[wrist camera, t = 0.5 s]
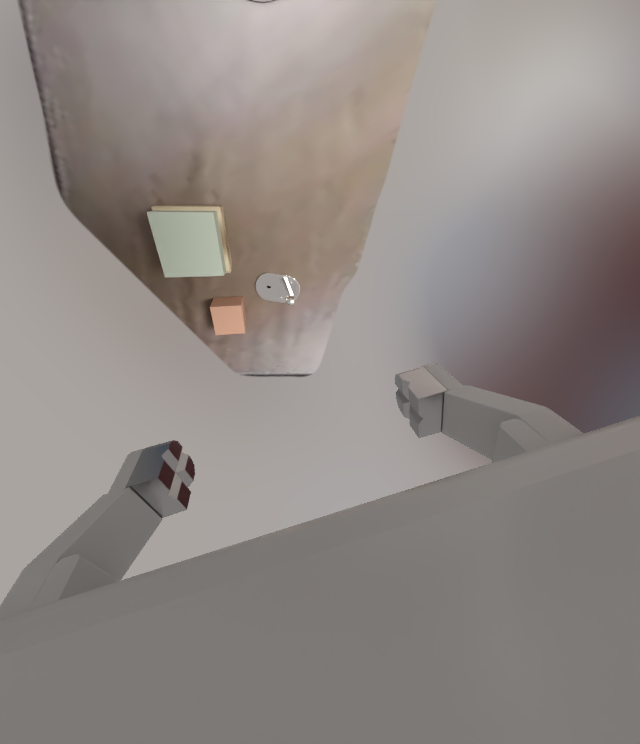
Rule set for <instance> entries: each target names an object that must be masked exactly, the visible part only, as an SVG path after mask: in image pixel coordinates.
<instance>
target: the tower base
mask: <svg viewBox="0 0 640 744" xmlns="http://www.w3.org/2000/svg"><path fill="white" fill-rule="evenodd" d="M151 208H152V211H155V210H165V211H217V215H218V221H219V227H220V233H221V240H222V246H223V252H224V258H225V264H226V272H225V273H231V270H232V263H231V256H230V250H229V244H228V237H227V231H226V225H225V218H224V212H223V206H151Z"/></svg>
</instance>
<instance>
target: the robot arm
mask: <svg viewBox="0 0 640 744" xmlns="http://www.w3.org/2000/svg"><path fill="white" fill-rule="evenodd" d="M254 1H261V2H265V1H272V0H254ZM395 384H396V385H397V387H398V388H399V389H398V391H397V392H396V399H397V403H398V406H399V409H400V411H401V412H402V414H403V415H404V417H406V418H409V419H410V426H411V427H412V429H413V430H414V432H415V433H416V434H417V436H418V437H419V438H421V437H424V436H428V435H432V434H435V433H439V432H442V433H443V434H445V435H447V436H449V437H451V438H453V439H454V440H456V441H458V442H460V443H462V444H464V445H466V446H467V447H469V448H471V449H473V450H475V451H477V452H478V453H480V454H482V455H484V456H486V457H488V458H490V459H491V460H492V463H491V464H488V465H484V466H481V467H478V468H475V469H471V470H468V471H465V472H462V473H459V474H456V475H453V476H449V477H446V478H443V479H440V480H437V481H434V482H430V483H427V484H424V485H421V486H418V487H415V488H412V489H408V490H405V491H402V492H399V493H396V494H393V495H389V496H386V497H383V498H380V499H377V500H374V501H371V502H367V503H364V504H361V505H358V506H355V507H352V508H349V509H345V510H342V511H339V512H336V513H333V514H330V515H327V516H323V517H321V518H317V519H314V520H311V521H308V522H305V523H301V524H298V525H295V526H292V527H289V528H286V529H282V530H279V531H276V532H273V533H270V534H267V535H263V536H260V537H257V538H254V539H251V540H248V541H244V542H241V543H238V544H235V545H232V546H229V547H225V548H222V549H219V550H216V551H213V552H210V553H206V554H203V555H200V556H197V557H194V558H191V559H188V560H185V561H181V562H178V563H175V564H172V565H169V566H165V567H163V568H159V569H156V570H153V571H150V572H147V573H144V574H140V575H137V576H134V577H131V578H128V579H124V580H121V579H122V578H123V576H124V575H125V573H126V572H127V570H128V569H129V567H130V566H131V564H132V563H133V561H134V560H135V559H136V557H137V556H138V554H139V553H140V551H141V550H142V548H143V547H144V545H145V544H146V543H147V541H148V540H149V538H150V537H151V535H152V534H153V532H154V531H155V529H156V528H157V527H158V525H159V524H160V522H161V521H162V518H164V517H167V516H169V515H172V514H175V513H178V512H181V511H184V510H187V506H188V503H189V498H190V494H191V491H190V490H189V488H188V487H189V486H190V484H191V483H192V482H193V480H194V476H195V469H194V464H193V461H192V459H191V458H190V456H189V455H187V454H184V453H182V446H181V445H180V443H179V442H178V441H174V440H173V441H169V442H166V443H163V444H158V445H155V446H151V447H148V448H145V449H141V450H138V451H134V452H131V453H130V454H129V455H128V456H127V458H126V459H125V462H124V463H123V465H122V467H121V469H120V471H119V473H118V475H117V477H116V479H115V481H114V483H113V485H112V487H111V489H110V491H109V493H108V494H105V495H103V496H102V497H101V498H99V499H98V500H97V501H96V502H95V503H94V504H93V505H92V506H91V507H90V508H89V509H88V510H87V511H85V513H83V514H82V515H81V516H80V517H79V518H78V519H77V520H76V521H75V522H74V523H73V524H72V525H70V526H69V527H68V528H67V529H66V530H65V531H64V532H63V533H62V534H61V535H60V536H59V537H58V538H56V539H55V540H54V541H53V542H52V543H51V544H50V545H49V546H48V547H47V548H46V549H45V550H44V551H42V552H41V553H40V554H39V555H38V556H37V557H36V558H35V559H34V560H33V561H32V562H31V563H30V564H28V565H27V566H26V567H25V568H24V569H23V571H22V572H21V574H20V576H19V577H18V579H17V580H16V582H15V584H14V585H13V586H12V588H11V590H10V591H9V593H8V594H7V596H6V598H5V599H4V601H3V603H2V604H1V606H0V744H640V416H639V417H635V418H632V419H629V420H626V421H623V422H620V423H617V424H613V425H610V426H607V427H604V428H601V429H598V430H595V431H592V432H589V433H585V434H583V433H582V432H581V431H579V430H578V429H576V428H575V427H574V426H572V425H571V424H569V423H568V422H567V421H565V420H564V419H563V418H561V417H560V416H558V415H557V414H555V413H554V412H553V411H551V410H550V409H549V408H547V407H544V406H540V405H537V404H533V403H530V402H526V401H522V400H519V399H515V398H512V397H508V396H505V395H501V394H498V393H494V392H490V391H487V390H483V389H480V388H476V387H472V386H468V385H466V386H463V385H461V384H460V383H459V382H458V381H457V380H456V379H455V378H454V377H452V376H451V375H450V374H449V373H448V372H447V371H446V370H445V369H443V368H442V367H441V366H440V365H439V364H438V363H435V362H434V363H431V364H428V365H425V366H422V367H420V368H416V369H413V370H410V371H406V372H403V373H400V374H396V375H395ZM120 580H121V581H120Z"/></svg>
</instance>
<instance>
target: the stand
mask: <svg viewBox="0 0 640 744" xmlns="http://www.w3.org/2000/svg"><path fill="white" fill-rule="evenodd" d="M256 291H257V293H258V295H259V296H260V297H261V298H263V299H265V300H268V301H275V302H282V303H287V304H288V305H293V304H294V300H296V299H297V297H298V296H299V293H300V286H299V283H298V282H297V280H296V279H295V278H293V277H292V276H288V275H282V274H277V273H270V272H268V273H264V274H262V275H260V276H259V277H258V279H257V281H256Z"/></svg>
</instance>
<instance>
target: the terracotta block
mask: <svg viewBox="0 0 640 744" xmlns="http://www.w3.org/2000/svg"><path fill="white" fill-rule="evenodd" d="M210 310H211V315H212V320H213V324H214V329H215V334H216V335H224V334H239V333H246V317H245V310H244V303H243V296H241V297H220V298H213V301H212V303H211V305H210Z"/></svg>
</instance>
